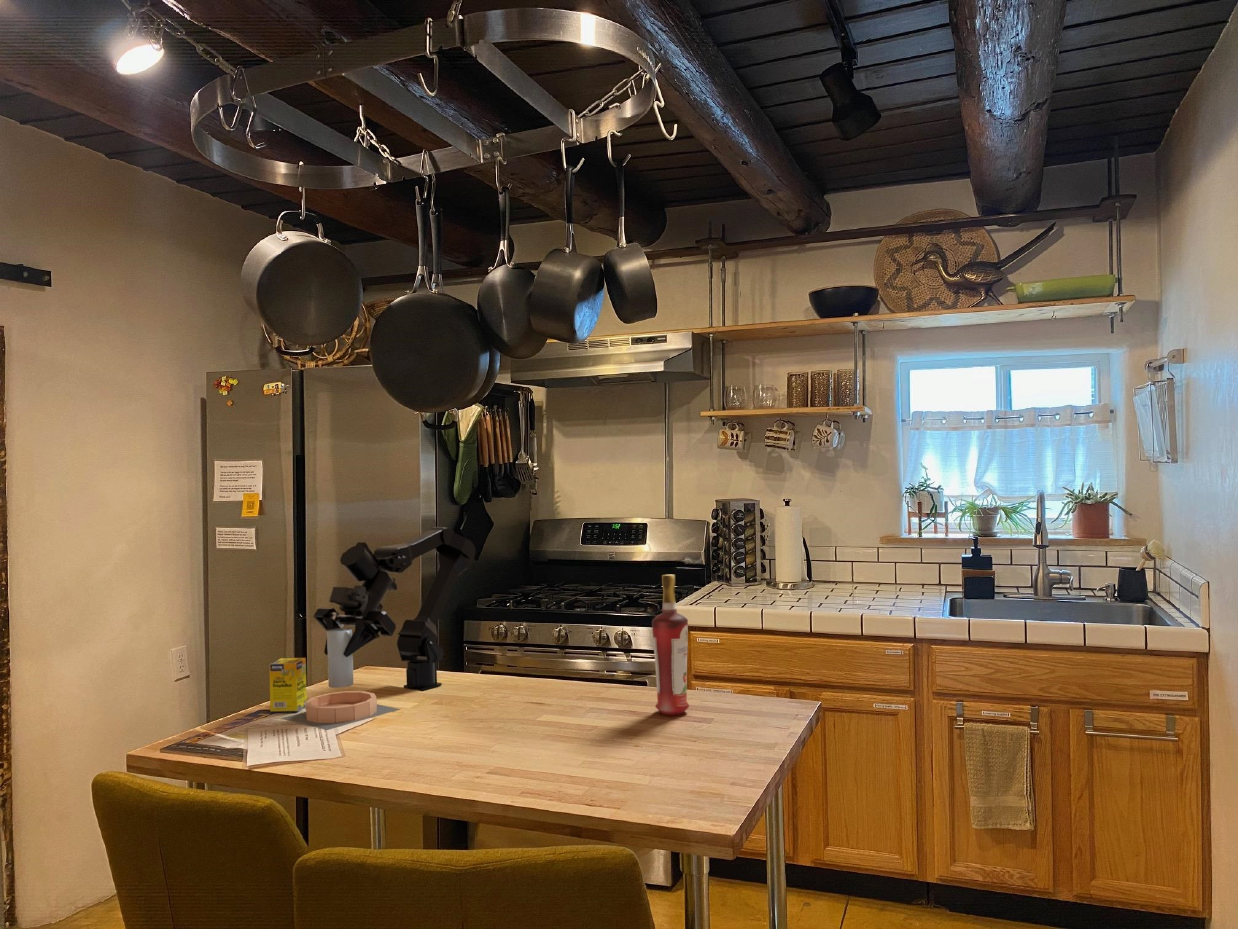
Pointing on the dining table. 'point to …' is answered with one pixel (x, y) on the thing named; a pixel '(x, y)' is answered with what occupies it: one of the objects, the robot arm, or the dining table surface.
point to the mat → (302, 719)
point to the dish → (341, 706)
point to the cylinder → (339, 658)
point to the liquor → (670, 653)
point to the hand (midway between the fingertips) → (335, 655)
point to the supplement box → (287, 685)
